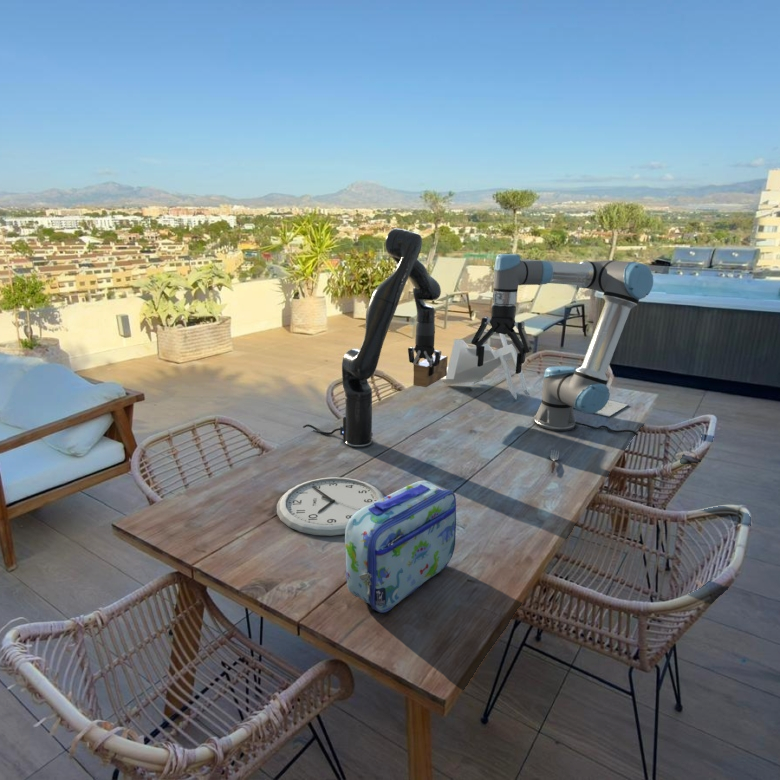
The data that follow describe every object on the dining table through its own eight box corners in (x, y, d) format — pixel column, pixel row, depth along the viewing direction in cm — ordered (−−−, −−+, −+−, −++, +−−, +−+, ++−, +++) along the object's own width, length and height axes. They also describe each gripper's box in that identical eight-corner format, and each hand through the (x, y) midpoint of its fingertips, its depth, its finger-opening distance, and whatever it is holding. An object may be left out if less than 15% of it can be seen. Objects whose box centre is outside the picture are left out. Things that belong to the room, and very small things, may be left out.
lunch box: (374, 626, 100) (375, 530, 93) (338, 598, 107) (337, 508, 101) (459, 568, 117) (465, 484, 111) (424, 547, 124) (427, 467, 118)
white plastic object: (461, 429, 252) (437, 405, 227) (444, 352, 274) (420, 323, 250) (535, 404, 240) (518, 377, 215) (510, 326, 262) (492, 293, 237)
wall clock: (392, 527, 129) (268, 531, 127) (391, 533, 130) (269, 537, 127) (383, 473, 158) (282, 475, 155) (383, 478, 158) (282, 480, 156)
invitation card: (608, 416, 214) (573, 407, 224) (608, 416, 214) (573, 408, 224) (628, 404, 229) (594, 396, 238) (628, 405, 229) (594, 397, 238)
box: (434, 373, 228) (435, 354, 225) (446, 375, 225) (447, 356, 222) (413, 385, 210) (413, 364, 208) (426, 387, 208) (427, 366, 205)
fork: (547, 473, 163) (548, 467, 163) (550, 454, 177) (551, 448, 177) (556, 475, 162) (556, 469, 162) (558, 455, 177) (559, 449, 176)
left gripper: (404, 332, 206) (403, 374, 211) (437, 336, 199) (436, 379, 204) (413, 329, 212) (411, 369, 217) (445, 333, 205) (443, 375, 210)
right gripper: (463, 301, 170) (459, 365, 176) (537, 309, 155) (530, 378, 162) (474, 299, 175) (470, 361, 182) (546, 307, 161) (539, 373, 168)
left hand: (423, 374), depth 210 cm, fingers closed on box, 5 cm apart
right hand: (498, 369), depth 172 cm, fingers open, 13 cm apart
